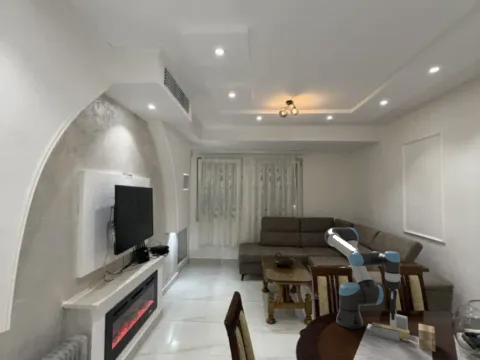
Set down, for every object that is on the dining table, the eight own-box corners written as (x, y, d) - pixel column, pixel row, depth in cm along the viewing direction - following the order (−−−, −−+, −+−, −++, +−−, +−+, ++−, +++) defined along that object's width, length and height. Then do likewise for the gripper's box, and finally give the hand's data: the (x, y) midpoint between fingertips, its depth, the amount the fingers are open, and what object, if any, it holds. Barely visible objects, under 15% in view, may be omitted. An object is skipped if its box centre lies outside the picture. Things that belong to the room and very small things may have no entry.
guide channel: (370, 335, 162) (370, 326, 162) (372, 330, 168) (371, 322, 168) (399, 342, 155) (398, 332, 155) (399, 337, 160) (399, 327, 161)
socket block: (419, 347, 149) (418, 329, 150) (418, 340, 157) (418, 323, 157) (435, 351, 145) (435, 333, 146) (434, 344, 153) (434, 326, 154)
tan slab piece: (372, 332, 163) (371, 306, 164) (373, 329, 166) (372, 304, 167) (409, 340, 153) (408, 313, 154) (409, 337, 157) (409, 311, 158)
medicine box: (408, 332, 167) (407, 316, 168) (406, 334, 164) (405, 318, 164) (393, 327, 172) (392, 312, 173) (390, 330, 169) (390, 314, 170)
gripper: (399, 284, 152) (400, 331, 151) (401, 278, 166) (401, 320, 164) (383, 282, 156) (384, 327, 155) (386, 276, 170) (387, 317, 168)
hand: (393, 324), depth 159 cm, fingers closed on tan slab piece, 3 cm apart
